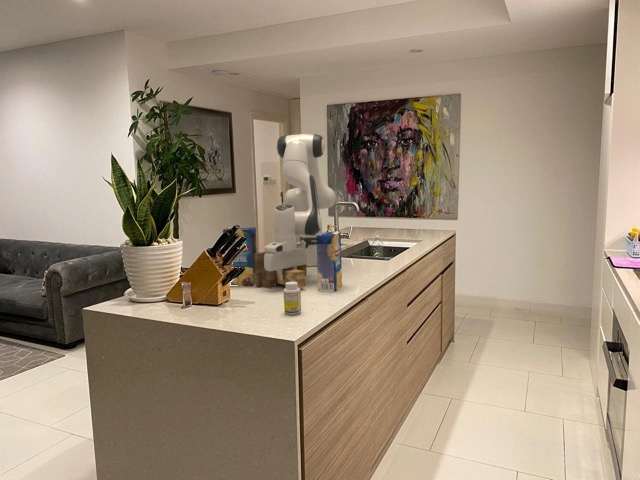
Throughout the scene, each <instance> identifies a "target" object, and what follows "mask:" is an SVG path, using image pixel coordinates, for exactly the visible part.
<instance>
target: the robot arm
mask: <svg viewBox="0 0 640 480" xmlns="http://www.w3.org/2000/svg"><path fill="white" fill-rule="evenodd" d="M325 149H326V143H325V140H324V137H323V136H322V135H320V134H316V133H314V134H310V133H300V134H289V135H287V134H286V135H281V136H280V137H279V138H278V139H277V142H276V150H277V154H278V156H279V157H280V158H282V167H281V172H282V177H283V179H284V180H285V181H286V182H287V183H288V184H289V185H291V186H293V187H295V188H290V189H288V190H287V191H285V195H284V203H285V204H280V205H277V206H276V207H275V208H274V212H273V229H274V240H273V241H272V242H270V243H268V244H267V245H265V246H264V252H266V253H265V255H264V268H265V270H266V271H276V270H277V273H278V275H279V279H280V280H284V279H285V275H283V274H282V269H286V268H291V269H296V270H297V266H301V265H306V267H318V264H317V235H319V234H321V233H323V222H322V217H321V213H320V212H321V211H320V210H323V209H324V210H325V209H329V208H332V207H333V206H334V205H335V203H336V193H335V190H333V188H331V187H329V186H328V185H327V184H325V182H324V181H323V180H322V178H321V176H320V175H321V174H320V171H319V161H318V158H321V157H322V156H323V155H324V152H325ZM297 235H300V237H299V242H298V243H297Z"/></svg>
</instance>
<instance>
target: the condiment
mask: <svg viewBox="0 0 640 480" xmlns="http://www.w3.org/2000/svg"><path fill="white" fill-rule="evenodd" d="M297 270H301V271H305V278H308V277H310V275H309V274H308V273H307V266H306V265H301V266H297Z"/></svg>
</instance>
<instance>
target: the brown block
mask: <svg viewBox="0 0 640 480" xmlns="http://www.w3.org/2000/svg"><path fill="white" fill-rule="evenodd" d="M265 253H266V251H260V252H257V253H254V266H255V287H256V288H267V289H273V288H276V284H278V283H275V271H266V270H265V268H264V255H265ZM290 269H291V268H290Z"/></svg>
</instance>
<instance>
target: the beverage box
mask: <svg viewBox="0 0 640 480" xmlns="http://www.w3.org/2000/svg"><path fill="white" fill-rule="evenodd" d="M341 235H342V234H341V232H340V231H324V232H323V231H322V233H321V234H319V235H317V264H318V266H317V285H318V290H317V291H318V292H330V293H331V292H333V293H335V292H337V291H338V290H339V289H341V287H342V286H343V274H342V241H341V240H342V238H341Z"/></svg>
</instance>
